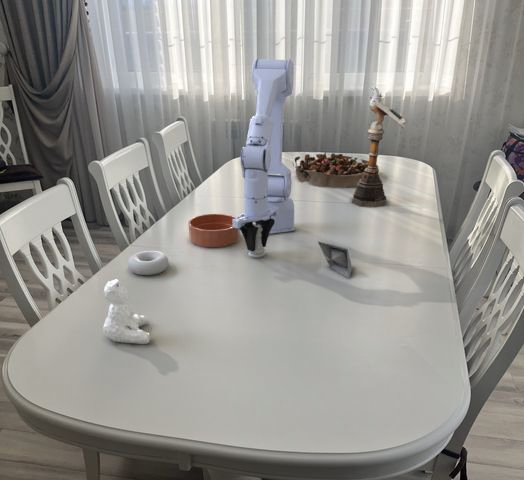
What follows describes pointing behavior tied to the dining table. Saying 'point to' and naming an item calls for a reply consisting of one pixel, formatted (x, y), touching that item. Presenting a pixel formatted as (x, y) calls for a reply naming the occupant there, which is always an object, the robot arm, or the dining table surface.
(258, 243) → the rook chess piece
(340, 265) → the grey rectangular frame
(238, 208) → the dining table surface
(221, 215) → the bowl
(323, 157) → the food dish
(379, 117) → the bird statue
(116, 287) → the sitting furry creature
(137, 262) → the donut
